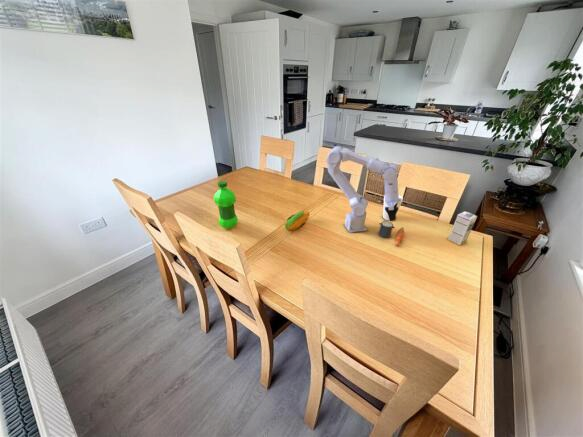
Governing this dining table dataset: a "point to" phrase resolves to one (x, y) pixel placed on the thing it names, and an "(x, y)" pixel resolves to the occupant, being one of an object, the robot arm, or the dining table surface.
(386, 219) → the foam cup
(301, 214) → the hot dog
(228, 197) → the plastic bottle
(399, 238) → the carrot
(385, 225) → the mug
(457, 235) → the syrup box
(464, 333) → the dining table surface
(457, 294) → the dining table surface
